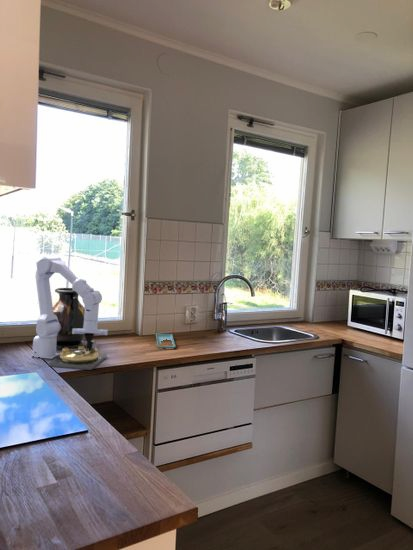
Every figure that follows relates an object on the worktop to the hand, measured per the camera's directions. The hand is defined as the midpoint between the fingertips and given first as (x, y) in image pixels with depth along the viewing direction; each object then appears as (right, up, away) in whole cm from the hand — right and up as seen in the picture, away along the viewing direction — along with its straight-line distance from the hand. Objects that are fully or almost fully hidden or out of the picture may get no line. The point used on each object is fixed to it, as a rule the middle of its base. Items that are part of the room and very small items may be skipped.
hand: (88, 350), depth 191 cm
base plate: (-5, -5, +1) cm, 7 cm away
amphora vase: (-17, -2, +26) cm, 31 cm away
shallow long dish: (+29, -4, +45) cm, 53 cm away
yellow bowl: (-4, -3, +1) cm, 6 cm away
